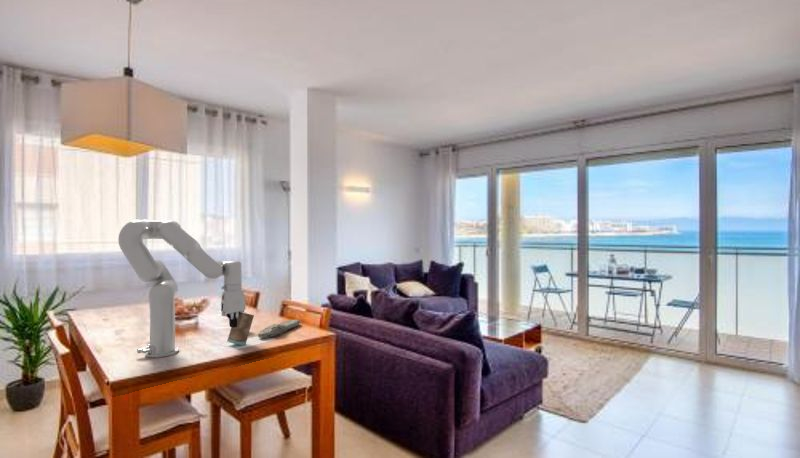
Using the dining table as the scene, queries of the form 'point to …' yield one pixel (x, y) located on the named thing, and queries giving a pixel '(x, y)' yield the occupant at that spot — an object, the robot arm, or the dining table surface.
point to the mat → (248, 342)
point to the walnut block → (241, 329)
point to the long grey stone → (278, 328)
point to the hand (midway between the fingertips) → (233, 326)
